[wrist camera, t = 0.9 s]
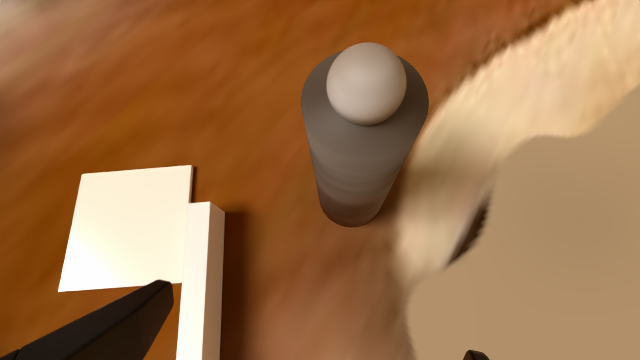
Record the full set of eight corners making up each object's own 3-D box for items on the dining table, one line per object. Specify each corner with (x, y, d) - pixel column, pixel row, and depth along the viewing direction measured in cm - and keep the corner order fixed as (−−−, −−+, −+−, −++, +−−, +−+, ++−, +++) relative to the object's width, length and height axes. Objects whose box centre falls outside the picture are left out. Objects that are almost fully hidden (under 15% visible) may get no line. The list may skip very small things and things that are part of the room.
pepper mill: (386, 224, 23) (463, 118, 9) (321, 229, 23) (296, 132, 9) (378, 164, 25) (432, -6, 11) (317, 169, 25) (291, 7, 11)
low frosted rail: (216, 451, 19) (195, 479, 16) (191, 452, 19) (166, 480, 16) (224, 212, 24) (210, 201, 21) (205, 213, 24) (188, 203, 22)
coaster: (184, 282, 23) (182, 282, 22) (62, 291, 23) (58, 291, 23) (193, 167, 26) (191, 165, 25) (85, 175, 26) (82, 174, 26)
